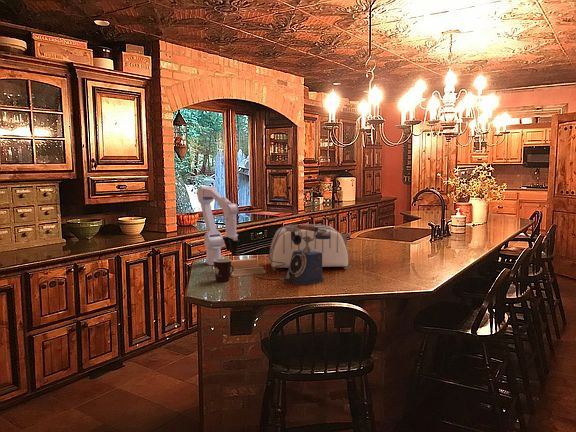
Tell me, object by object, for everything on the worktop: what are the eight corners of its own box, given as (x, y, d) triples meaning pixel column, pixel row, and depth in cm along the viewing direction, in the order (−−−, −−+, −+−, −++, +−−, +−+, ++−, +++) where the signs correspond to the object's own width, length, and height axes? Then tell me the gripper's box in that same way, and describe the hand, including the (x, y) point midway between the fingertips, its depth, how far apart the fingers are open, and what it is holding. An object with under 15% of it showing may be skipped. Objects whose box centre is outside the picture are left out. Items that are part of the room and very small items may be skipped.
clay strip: (230, 270, 248) (230, 260, 247) (255, 267, 254) (255, 258, 253) (231, 271, 245) (231, 261, 245) (257, 268, 252) (257, 259, 251)
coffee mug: (212, 279, 233) (211, 259, 232) (229, 277, 236) (229, 257, 235) (217, 285, 222) (216, 264, 221) (235, 283, 225) (234, 262, 224)
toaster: (355, 269, 254) (355, 228, 252) (271, 271, 250) (271, 229, 247) (346, 261, 275) (346, 223, 273) (268, 263, 271) (268, 224, 268)
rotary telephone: (248, 275, 242) (248, 222, 239) (282, 269, 256) (282, 219, 253) (300, 293, 211) (300, 232, 207) (335, 285, 224) (336, 227, 221)
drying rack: (222, 269, 253) (221, 263, 253) (253, 266, 261) (253, 260, 261) (232, 276, 238) (232, 270, 238) (265, 273, 246) (265, 267, 246)
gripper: (242, 228, 248) (243, 253, 250) (233, 224, 261) (233, 248, 263) (230, 228, 245) (230, 254, 247) (221, 225, 258) (221, 249, 260)
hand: (231, 251), depth 255 cm, fingers open, 7 cm apart
